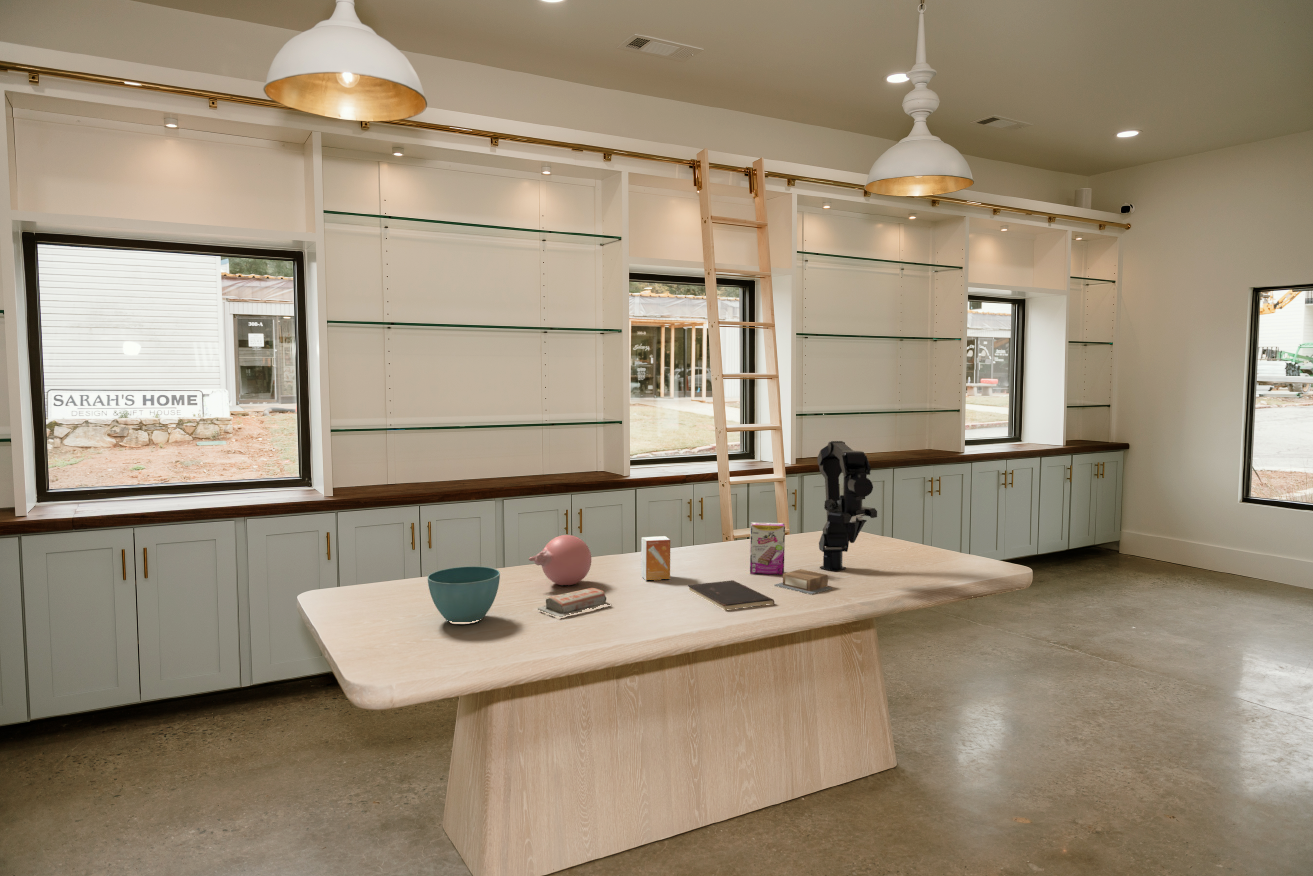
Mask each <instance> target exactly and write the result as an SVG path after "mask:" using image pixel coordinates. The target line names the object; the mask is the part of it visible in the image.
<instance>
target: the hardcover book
mask: <svg viewBox="0 0 1313 876" xmlns="http://www.w3.org/2000/svg"><path fill="white" fill-rule="evenodd" d="M687 587H688V589H689V590H690V591H692V592H694V593H696V594H697V595H699V596H701V597H703V598H704V599H706V600H708V601H710V602H712V603H713V604H716V605H717V606H719V607H721V608H723V609H724V610H727V609H735V608H743V607H751V606H760V605H766V604H774V605H775V600H774V598H772V597H769V596H768V595H765V594H763V593H761V592H759V591H757V590H754V589H752V588H751V587H748V586H746V585H743V583H740V582H737V581H736V580H734V579H733V580H732V579H731V580H723V581H715V582H714V581H713V582H704V583H696V584H688V585H687ZM690 591H689V592H690ZM692 592H691V593H692ZM694 593H693V594H694ZM697 595H696V596H697ZM699 596H698V597H699ZM701 597H700V598H701ZM703 598H702V599H703ZM704 599H703V600H704ZM706 600H705V601H706ZM708 601H707V602H708ZM710 602H709V603H710ZM712 603H711V604H712ZM713 604H712V605H713ZM717 606H716V607H717ZM719 607H718V608H719ZM760 607H761V606H760ZM724 610H723V611H724Z"/></svg>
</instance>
